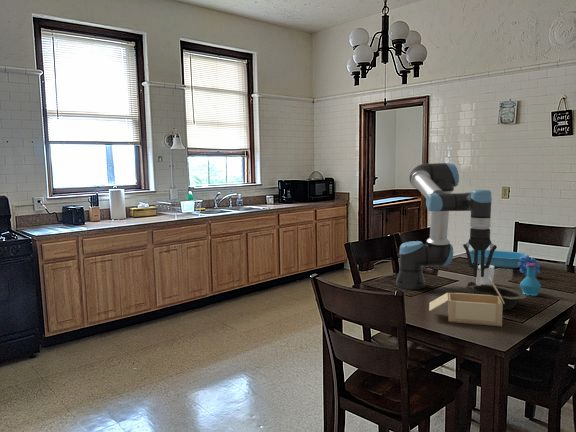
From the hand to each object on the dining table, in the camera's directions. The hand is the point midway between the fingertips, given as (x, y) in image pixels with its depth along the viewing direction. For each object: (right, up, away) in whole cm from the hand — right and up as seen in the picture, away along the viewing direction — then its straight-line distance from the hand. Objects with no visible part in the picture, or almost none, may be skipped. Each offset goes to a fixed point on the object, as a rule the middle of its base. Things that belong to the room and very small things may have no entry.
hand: (478, 284), depth 190 cm
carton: (-1, -15, +2) cm, 15 cm away
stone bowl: (+17, -13, +21) cm, 30 cm away
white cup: (+27, -8, +55) cm, 62 cm away
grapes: (+56, -6, +69) cm, 89 cm away
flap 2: (+7, -2, -2) cm, 7 cm away
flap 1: (-15, -8, +6) cm, 18 cm away
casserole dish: (+54, -3, +103) cm, 116 cm away
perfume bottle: (+41, -10, +37) cm, 56 cm away
